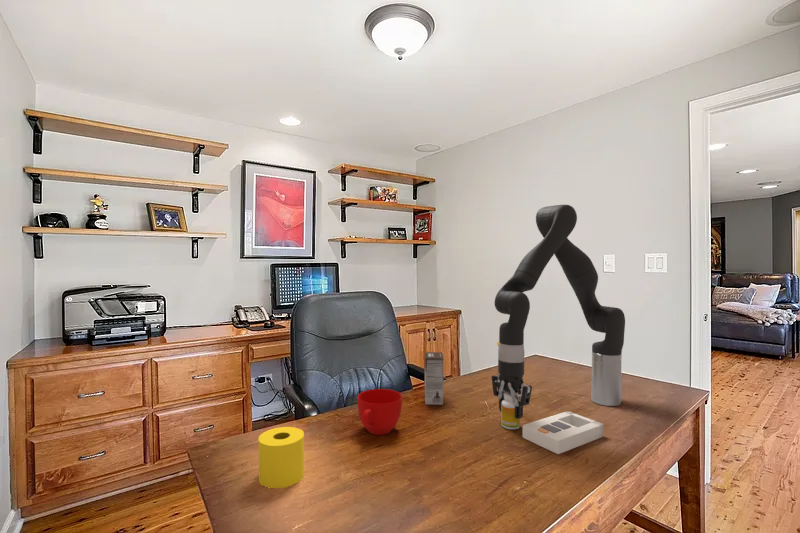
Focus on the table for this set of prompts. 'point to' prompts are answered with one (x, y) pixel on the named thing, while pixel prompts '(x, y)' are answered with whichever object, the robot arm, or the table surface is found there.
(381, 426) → the ceramic cup
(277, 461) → the yellow toilet paper roll
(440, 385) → the coffee box
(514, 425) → the supplement bottle
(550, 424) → the white bottle holder
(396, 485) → the table surface
